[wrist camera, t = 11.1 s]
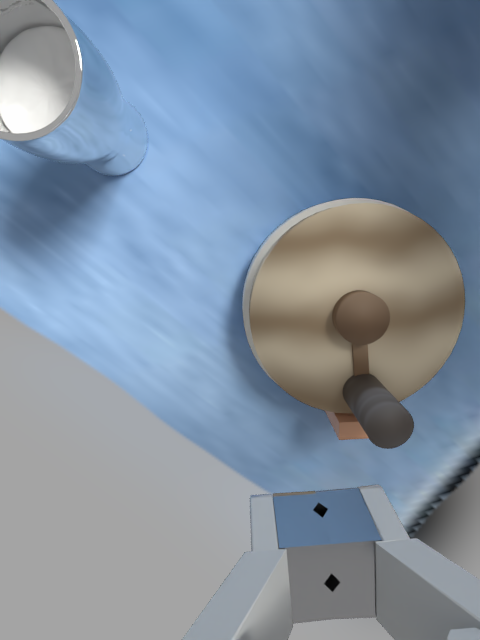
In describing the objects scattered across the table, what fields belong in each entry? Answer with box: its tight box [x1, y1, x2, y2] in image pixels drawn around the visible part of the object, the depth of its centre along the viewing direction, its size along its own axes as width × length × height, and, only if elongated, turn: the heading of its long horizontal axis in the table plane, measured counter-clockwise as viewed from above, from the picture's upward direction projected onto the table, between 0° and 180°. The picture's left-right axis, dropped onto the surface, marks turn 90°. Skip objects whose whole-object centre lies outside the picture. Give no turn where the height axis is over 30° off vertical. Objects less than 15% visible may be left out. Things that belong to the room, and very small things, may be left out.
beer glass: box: [0, 0, 148, 176], centre depth 25 cm, size 7×7×15 cm
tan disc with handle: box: [249, 203, 465, 449], centre depth 29 cm, size 17×17×8 cm
